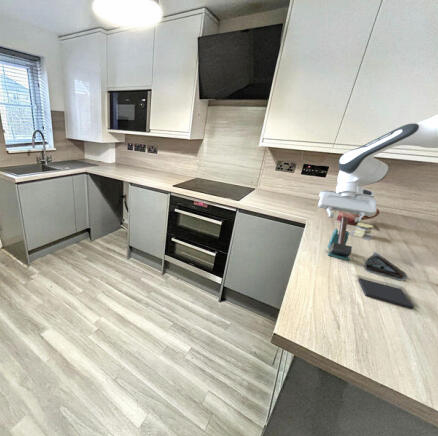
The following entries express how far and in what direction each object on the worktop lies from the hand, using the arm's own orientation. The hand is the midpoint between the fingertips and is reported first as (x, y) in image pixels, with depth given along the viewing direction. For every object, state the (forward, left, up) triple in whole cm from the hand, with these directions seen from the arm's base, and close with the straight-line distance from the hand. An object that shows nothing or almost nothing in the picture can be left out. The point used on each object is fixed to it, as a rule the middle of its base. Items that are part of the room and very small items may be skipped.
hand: (344, 219), depth 103 cm
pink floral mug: (-14, -46, -14) cm, 50 cm away
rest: (0, +7, -13) cm, 15 cm away
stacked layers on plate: (-15, -26, -14) cm, 33 cm away
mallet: (0, +7, -13) cm, 15 cm away
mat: (-9, +33, -13) cm, 37 cm away
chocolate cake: (-13, +15, -14) cm, 24 cm away
